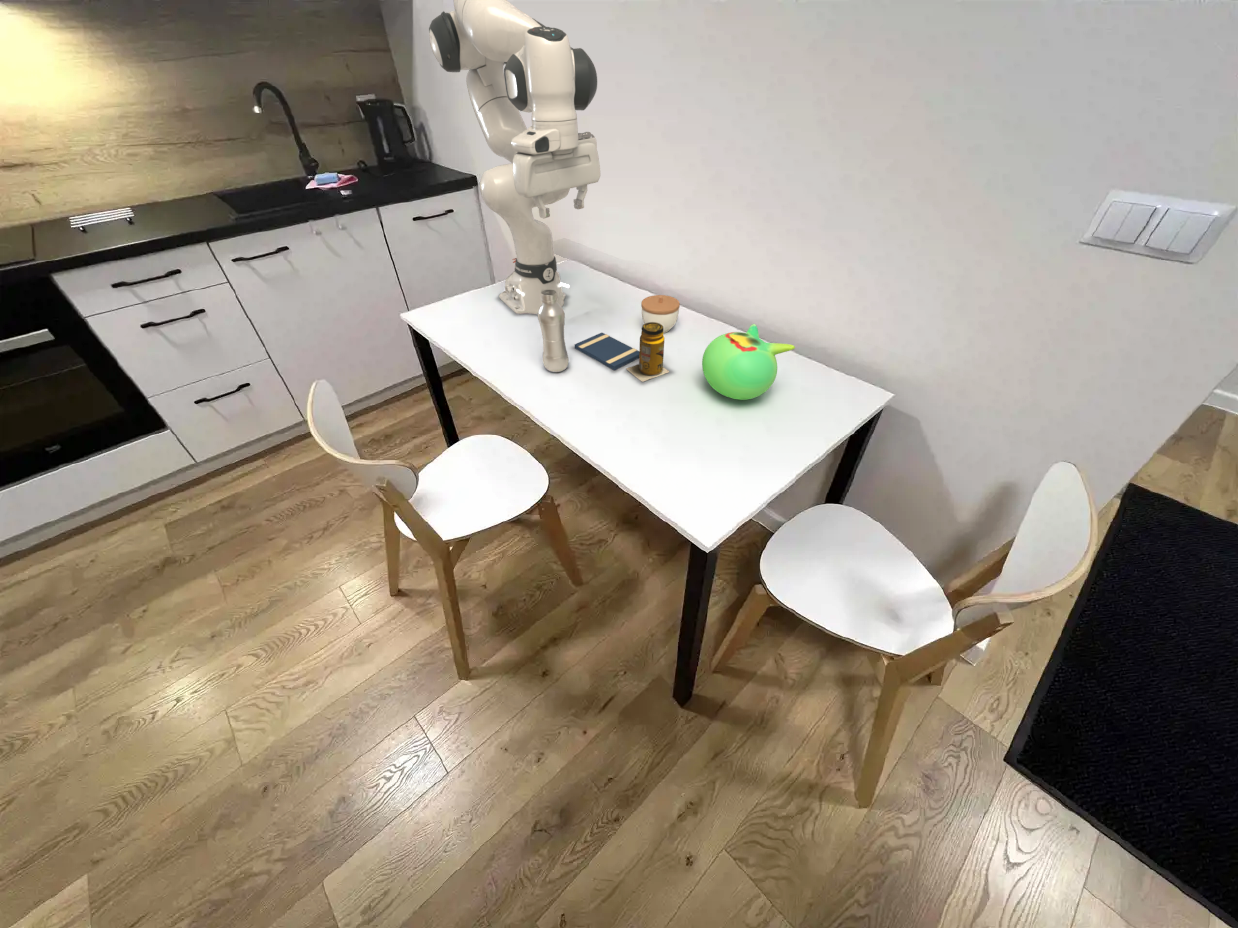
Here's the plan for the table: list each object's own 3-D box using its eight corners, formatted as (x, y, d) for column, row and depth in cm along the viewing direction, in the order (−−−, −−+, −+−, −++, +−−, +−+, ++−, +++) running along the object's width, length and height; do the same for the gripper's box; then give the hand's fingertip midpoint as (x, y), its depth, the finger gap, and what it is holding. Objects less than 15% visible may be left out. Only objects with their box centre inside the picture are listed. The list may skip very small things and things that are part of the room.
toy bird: (687, 379, 122) (692, 324, 112) (744, 365, 127) (754, 311, 117) (726, 419, 109) (736, 361, 100) (789, 401, 114) (804, 344, 104)
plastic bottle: (558, 359, 130) (550, 284, 116) (574, 368, 126) (568, 292, 113) (538, 368, 126) (528, 292, 113) (555, 378, 123) (546, 301, 109)
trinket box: (675, 319, 146) (677, 288, 140) (680, 336, 138) (682, 304, 132) (639, 320, 146) (640, 289, 140) (641, 337, 138) (642, 305, 132)
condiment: (669, 372, 124) (672, 328, 116) (642, 382, 121) (643, 338, 113) (652, 360, 129) (654, 317, 121) (625, 369, 126) (625, 326, 118)
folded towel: (574, 348, 134) (574, 344, 133) (602, 336, 139) (601, 332, 138) (614, 370, 125) (614, 366, 124) (642, 356, 130) (642, 352, 129)
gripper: (585, 129, 104) (589, 201, 113) (504, 141, 94) (515, 219, 103) (605, 132, 101) (607, 206, 110) (523, 145, 90) (533, 226, 100)
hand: (562, 213), depth 106 cm, fingers open, 8 cm apart
